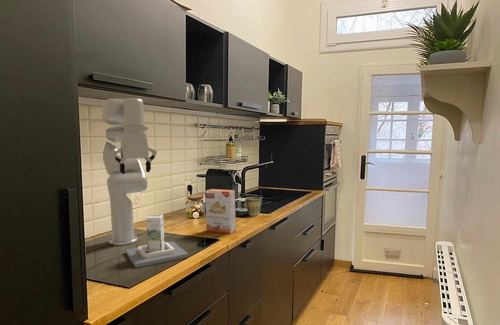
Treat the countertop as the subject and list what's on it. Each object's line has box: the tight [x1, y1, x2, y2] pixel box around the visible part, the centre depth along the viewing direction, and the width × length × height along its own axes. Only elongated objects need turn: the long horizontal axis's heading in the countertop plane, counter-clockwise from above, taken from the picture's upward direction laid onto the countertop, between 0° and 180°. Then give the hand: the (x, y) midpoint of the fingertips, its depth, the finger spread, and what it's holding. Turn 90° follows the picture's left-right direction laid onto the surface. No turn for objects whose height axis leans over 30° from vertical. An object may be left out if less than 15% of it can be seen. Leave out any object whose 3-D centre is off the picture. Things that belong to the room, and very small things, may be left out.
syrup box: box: [145, 214, 165, 253], centre depth 137 cm, size 6×6×14 cm
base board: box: [125, 241, 189, 269], centre depth 137 cm, size 20×20×3 cm
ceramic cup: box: [245, 196, 263, 217], centre depth 209 cm, size 13×10×10 cm
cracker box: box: [204, 188, 237, 235], centre depth 171 cm, size 14×6×21 cm, turn 65°
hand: (135, 172), depth 137 cm, fingers open, 9 cm apart
